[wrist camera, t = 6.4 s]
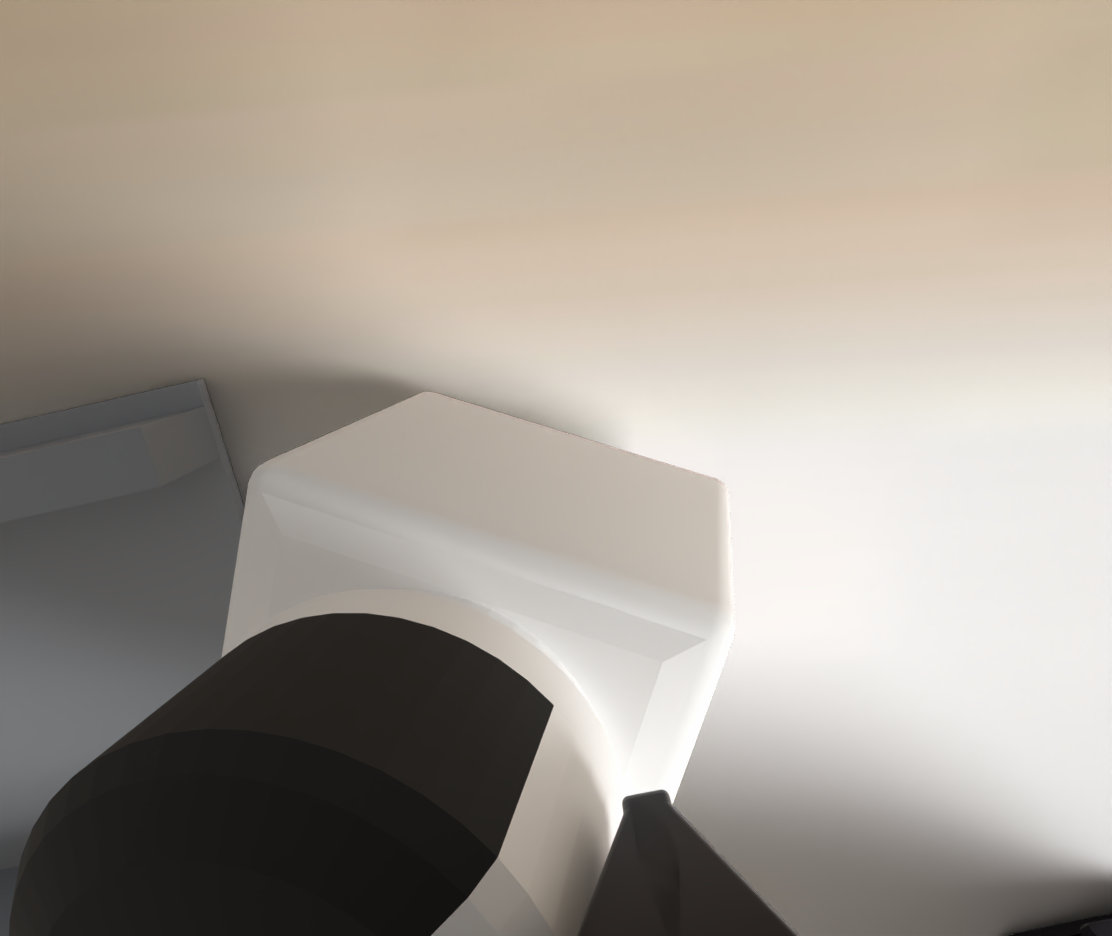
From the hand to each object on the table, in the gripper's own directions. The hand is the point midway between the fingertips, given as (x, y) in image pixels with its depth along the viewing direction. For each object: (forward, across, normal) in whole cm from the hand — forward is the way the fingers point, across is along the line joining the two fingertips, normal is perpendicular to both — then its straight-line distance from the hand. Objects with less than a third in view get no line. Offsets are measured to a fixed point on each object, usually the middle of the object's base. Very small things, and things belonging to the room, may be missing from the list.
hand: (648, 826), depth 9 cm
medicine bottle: (+10, +1, +1) cm, 10 cm away
